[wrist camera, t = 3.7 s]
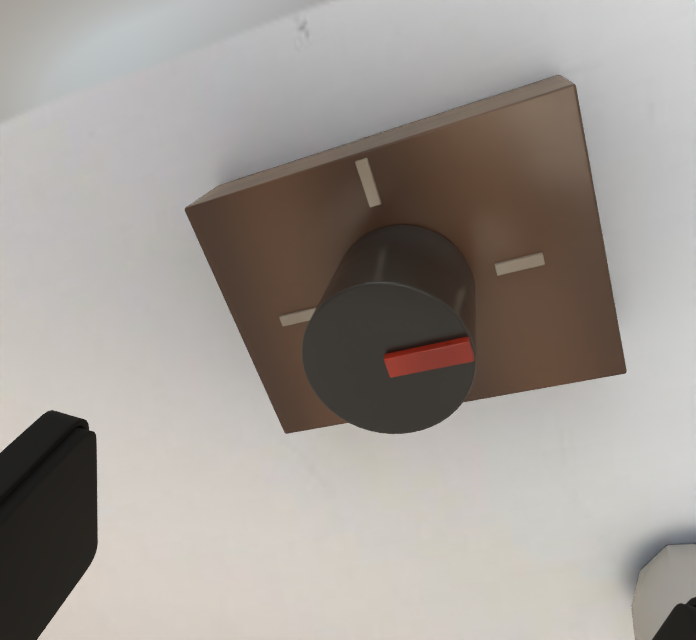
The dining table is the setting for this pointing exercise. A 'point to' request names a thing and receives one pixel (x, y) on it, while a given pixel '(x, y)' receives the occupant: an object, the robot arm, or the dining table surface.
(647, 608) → the salt shaker
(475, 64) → the dining table surface
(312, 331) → the knob
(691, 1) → the dining table surface
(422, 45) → the dining table surface
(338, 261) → the panel
